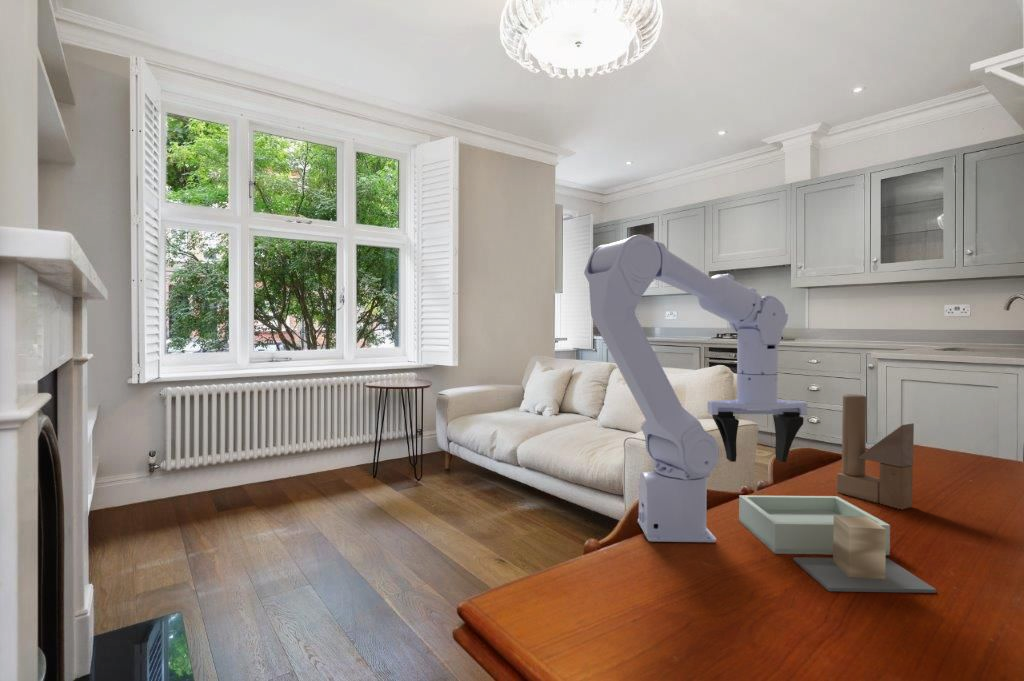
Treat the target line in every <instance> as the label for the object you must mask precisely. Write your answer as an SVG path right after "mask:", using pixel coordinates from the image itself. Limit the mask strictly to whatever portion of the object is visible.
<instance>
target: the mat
mask: <svg viewBox="0 0 1024 681" xmlns="http://www.w3.org/2000/svg"><path fill="white" fill-rule="evenodd" d="M793 562H795V563H796V564H797V565H798V566H800V568H801V569H803V570H804V571H805V572H806V573H808V575H809V576H810V577H812V578H813V579H814V580H815V581H817V582H818V584H820V586H822V587H823V588H824V589H825V590H827V591H828V592H845V593H846V592H847V593H848V592H851V593H854V592H855V593H856V592H857V593H859V592H860V593H864V592H865V593H912V594H913V593H919V594H921V593H924V594H925V593H926V594H929V593H930V594H932V593H933V594H936V593H937V589H936V588H935V587H933V586H932V585H931V584H928V582H925V581H924V580H922V579H921V578H919V577H918V576H916V575H915V574H914V573H911V572H910V571H909V570H907V569H905V568H904V567H903V566H901V565H899V564H897V563H896V562H894V561H893V560H891V559H890V558H886V562H885V579H872V578H855V577H848V576H847V575H846V574H845V573H844V572H843V571H842V570H841V569H840V568H839V567H838V566H836V565H835V564H834V563H833V557H802V556H801V557H796V556H795V557H793Z"/></svg>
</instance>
